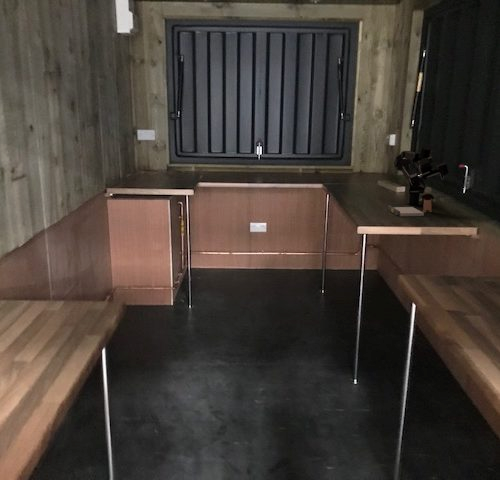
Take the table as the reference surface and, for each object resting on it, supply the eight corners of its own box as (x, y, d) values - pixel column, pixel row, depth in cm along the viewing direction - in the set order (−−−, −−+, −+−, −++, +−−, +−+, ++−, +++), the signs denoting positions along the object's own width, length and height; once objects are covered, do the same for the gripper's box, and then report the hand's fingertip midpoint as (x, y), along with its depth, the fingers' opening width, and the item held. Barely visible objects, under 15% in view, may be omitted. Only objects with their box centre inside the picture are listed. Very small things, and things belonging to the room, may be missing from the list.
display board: (387, 210, 263) (387, 205, 263) (412, 209, 264) (412, 205, 264) (397, 216, 249) (397, 211, 248) (423, 215, 250) (424, 210, 249)
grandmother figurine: (432, 210, 262) (434, 186, 258) (435, 212, 258) (437, 187, 255) (417, 210, 261) (419, 186, 258) (420, 212, 258) (422, 187, 254)
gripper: (402, 162, 261) (411, 178, 249) (438, 147, 256) (449, 163, 244) (408, 178, 267) (417, 195, 255) (443, 164, 263) (453, 181, 251)
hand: (434, 183), depth 251 cm, fingers open, 9 cm apart
